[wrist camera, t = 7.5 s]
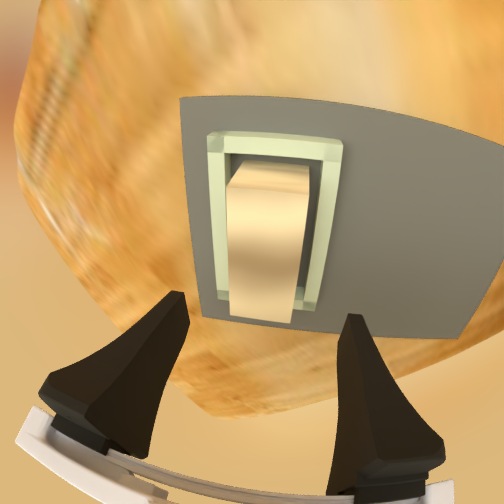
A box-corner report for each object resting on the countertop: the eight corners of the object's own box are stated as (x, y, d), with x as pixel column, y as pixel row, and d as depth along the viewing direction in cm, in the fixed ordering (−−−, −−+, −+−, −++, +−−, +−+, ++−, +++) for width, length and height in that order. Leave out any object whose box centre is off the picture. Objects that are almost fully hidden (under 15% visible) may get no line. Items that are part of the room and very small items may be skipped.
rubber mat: (534, 160, 13) (538, 162, 12) (456, 335, 24) (457, 338, 23) (182, 97, 16) (179, 98, 16) (203, 312, 27) (202, 316, 27)
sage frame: (340, 139, 16) (343, 145, 15) (315, 297, 23) (314, 311, 22) (214, 130, 17) (206, 136, 16) (222, 286, 24) (217, 299, 23)
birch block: (294, 279, 22) (290, 323, 19) (243, 273, 23) (229, 315, 19) (309, 165, 17) (309, 195, 13) (244, 159, 18) (225, 187, 14)
